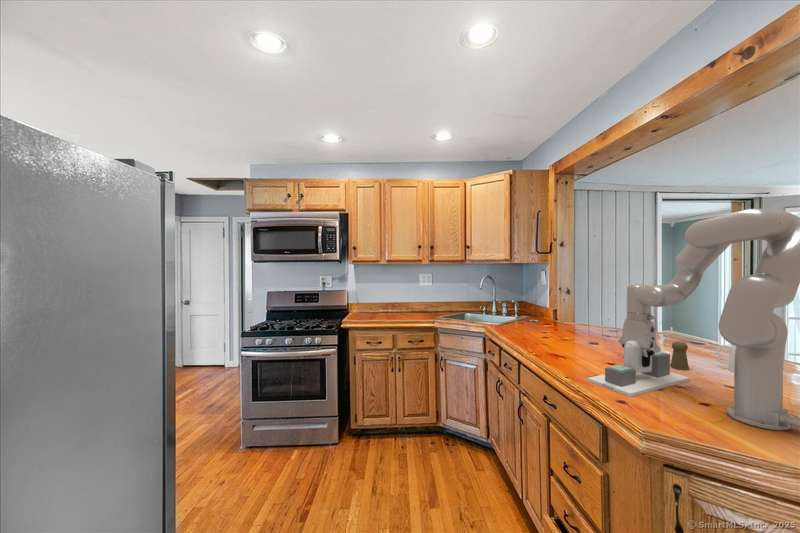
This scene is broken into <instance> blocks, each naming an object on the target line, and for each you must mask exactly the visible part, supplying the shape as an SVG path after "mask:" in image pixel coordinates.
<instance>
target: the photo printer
mask: <svg viewBox="0 0 800 533" xmlns="http://www.w3.org/2000/svg"><path fill="white" fill-rule="evenodd" d="M650 349H651V350H653V348H650ZM643 356H644V353H643V349H642V348H640V346H639V344H638V343H637V342H636V341H633V340H630V341H628V342H626V343H625V345H624V348H623V366H625V367H629V368H632V369H635V370H636V373H643V372H651V371H652V356H650V365H649V367H643V366H642V357H643Z"/></svg>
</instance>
